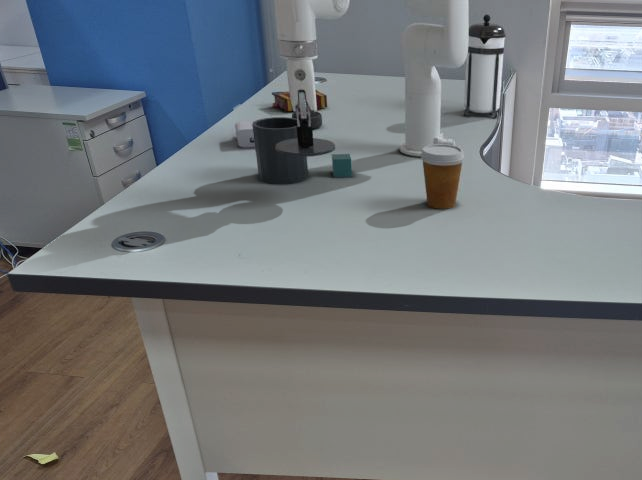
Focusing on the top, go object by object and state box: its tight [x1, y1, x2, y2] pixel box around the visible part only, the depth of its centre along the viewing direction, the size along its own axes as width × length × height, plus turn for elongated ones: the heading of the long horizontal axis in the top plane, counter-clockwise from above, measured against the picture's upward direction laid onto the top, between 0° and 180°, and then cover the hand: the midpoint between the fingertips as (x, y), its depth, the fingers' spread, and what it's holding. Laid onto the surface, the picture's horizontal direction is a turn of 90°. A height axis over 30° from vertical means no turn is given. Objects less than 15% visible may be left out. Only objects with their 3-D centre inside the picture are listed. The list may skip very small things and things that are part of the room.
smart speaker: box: [291, 110, 323, 130], centre depth 198 cm, size 9×9×4 cm
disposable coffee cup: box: [420, 144, 466, 210], centre depth 142 cm, size 10×10×12 cm
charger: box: [234, 120, 255, 148], centre depth 183 cm, size 5×9×15 cm
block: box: [331, 153, 353, 178], centre depth 160 cm, size 4×4×4 cm
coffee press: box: [463, 14, 507, 119], centre depth 214 cm, size 17×16×30 cm
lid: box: [276, 124, 336, 158], centre depth 139 cm, size 13×13×6 cm
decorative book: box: [270, 89, 328, 112], centre depth 219 cm, size 11×16×5 cm
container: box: [252, 116, 309, 185], centre depth 155 cm, size 12×12×12 cm
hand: (305, 143), depth 140 cm, fingers closed on lid, 2 cm apart
